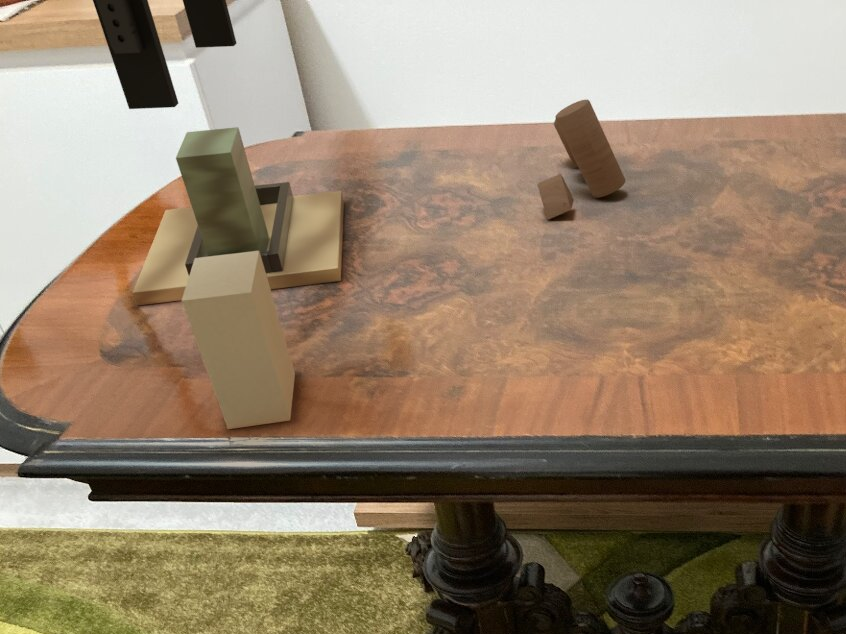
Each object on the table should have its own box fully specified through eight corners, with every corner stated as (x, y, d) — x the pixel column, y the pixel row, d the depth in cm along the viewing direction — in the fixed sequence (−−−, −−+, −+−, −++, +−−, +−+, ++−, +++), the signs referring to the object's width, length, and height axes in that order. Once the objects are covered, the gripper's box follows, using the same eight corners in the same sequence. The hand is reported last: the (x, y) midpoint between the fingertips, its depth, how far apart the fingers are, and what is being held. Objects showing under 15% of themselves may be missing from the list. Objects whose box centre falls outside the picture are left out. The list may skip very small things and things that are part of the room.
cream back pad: (227, 429, 75) (181, 300, 68) (236, 382, 81) (194, 257, 73) (290, 420, 76) (251, 292, 68) (295, 374, 81) (259, 250, 74)
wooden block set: (569, 177, 119) (533, 103, 114) (630, 150, 117) (596, 73, 111) (554, 233, 105) (511, 151, 100) (623, 204, 102) (583, 118, 97)
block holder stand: (137, 305, 92) (85, 175, 83) (169, 221, 107) (128, 104, 99) (341, 280, 94) (310, 152, 86) (344, 202, 110) (318, 86, 101)
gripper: (34, -377, 38) (188, 136, 51) (206, -340, 58) (285, 23, 71) (-152, -372, 38) (51, 141, 51) (85, -337, 57) (187, 27, 70)
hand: (188, 74), depth 61 cm, fingers open, 13 cm apart
